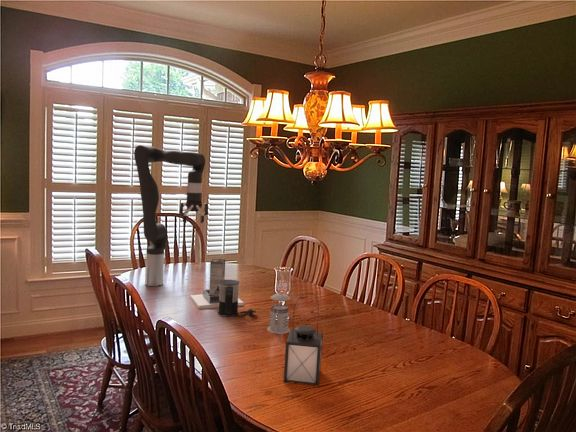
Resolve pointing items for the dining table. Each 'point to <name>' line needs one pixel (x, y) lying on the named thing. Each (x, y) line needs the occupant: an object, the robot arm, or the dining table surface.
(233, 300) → the milk frother
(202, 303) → the base board
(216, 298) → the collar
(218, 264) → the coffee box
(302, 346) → the lantern
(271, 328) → the glass oil lamp
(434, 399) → the dining table surface
